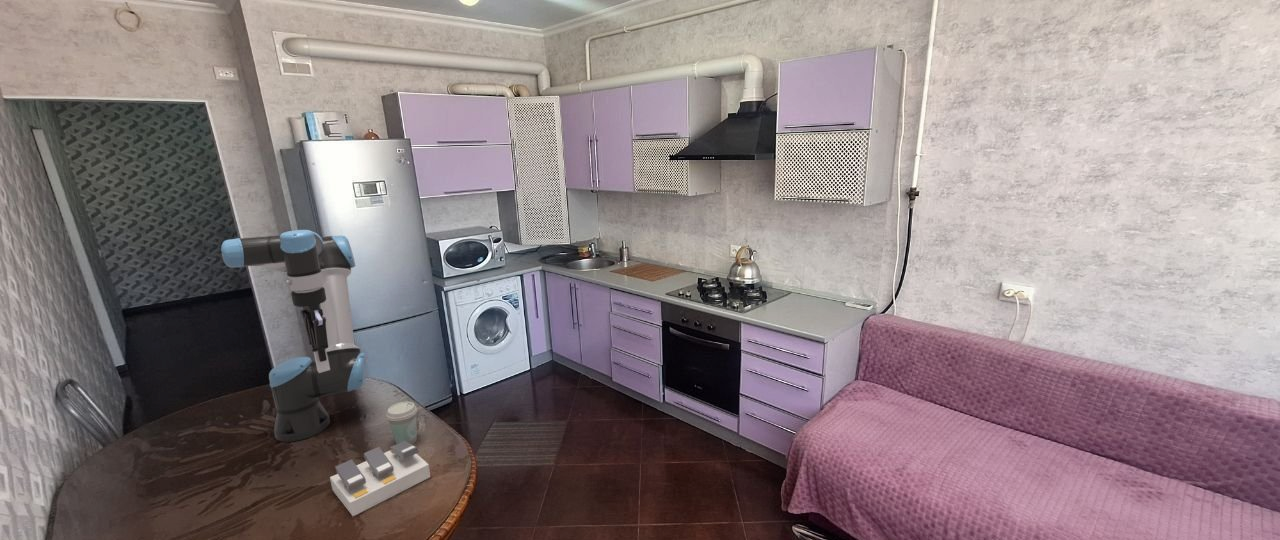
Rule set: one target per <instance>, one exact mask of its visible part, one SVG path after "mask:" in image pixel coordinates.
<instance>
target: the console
mask: <svg viewBox="0 0 1280 540" xmlns="http://www.w3.org/2000/svg"><path fill="white" fill-rule="evenodd" d="M383 453H384V454H385V455H386V457H387V458H388V460H389V461H390V462H391V464H392V465H393V467H394V471H393V472H391V473H389V474H387V475H385V476H383V477H380V478H378V477H377V476H376V474H375V473H374V472H373V470H372V469H371V467H370V466H369V464H368V463H367V461H366V460H365V461H363V462H361V463H359V464H357V465H356V464H355V465H356V466H357V467H358V469H359V470H360V471H361V473H362V474H363V476H364V477H365V479H366V483H365V484H363V485H361V486H359V487H357V488H355V489H352V490H350V491H349V490H348V488H347V487H346V485H345V484H344V482H343V481H342V479H341V478H340V477H339V475H338V474H337V473H336V474H334V475H331V476H330V477H329V480H330V484H331V489H332V492H333V493H334V494H335V496H337V498H338V499H339V501H340V502H341V503H342V505H344V507H345V508H346V509H347V511H348V512H349V513H350V514H351V516H352V517H354V516H355V517H356V516H357V515H359V514H360V513H363V512H364V511H366V510H368V509H370V508H373V507H374V506H377V505H379V504H381V503H383V502H384V501H386V500H388V499H390V498H392V497H395V496H396V495H398V494H400V493H402V492H404V491H406V490H407V489H410V488H412V487H414V486H416V485H417V484H419V483H421V482H424V481H425V480H427V479H429V478H431V473H430V472H431V471H430V465H429V463H428V462H427V461H426V460H424V459H423V458H422V457H421V456H420V455H419V454H418V453H417V454H414V455H412V456H410V457H408V458H406V459H403V458H401V457H399V456H397V455H395V454H394V453H392V452H391V449H390V450H387V451H385V452H383Z"/></svg>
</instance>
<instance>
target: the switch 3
mask: <svg viewBox="0 0 1280 540" xmlns="http://www.w3.org/2000/svg"><path fill="white" fill-rule="evenodd" d="M389 448H390V450H391V452H392V453H394V454H395V455H397V456H399V457H401V458H403V459H406V458H408V457H410V456H412V455H414V454H417V455H418V453H420V452H419V448H418V447H417V446H416V445H415V444H413V445H412V444H410V443H408V442H406V441H403V442H400V443H398V444H396V443H395V444H394V445H392V446H390V447H389Z"/></svg>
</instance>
